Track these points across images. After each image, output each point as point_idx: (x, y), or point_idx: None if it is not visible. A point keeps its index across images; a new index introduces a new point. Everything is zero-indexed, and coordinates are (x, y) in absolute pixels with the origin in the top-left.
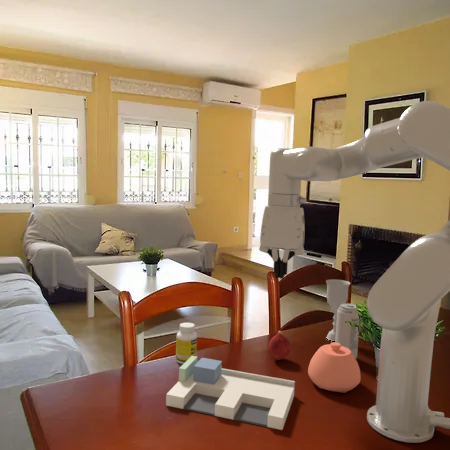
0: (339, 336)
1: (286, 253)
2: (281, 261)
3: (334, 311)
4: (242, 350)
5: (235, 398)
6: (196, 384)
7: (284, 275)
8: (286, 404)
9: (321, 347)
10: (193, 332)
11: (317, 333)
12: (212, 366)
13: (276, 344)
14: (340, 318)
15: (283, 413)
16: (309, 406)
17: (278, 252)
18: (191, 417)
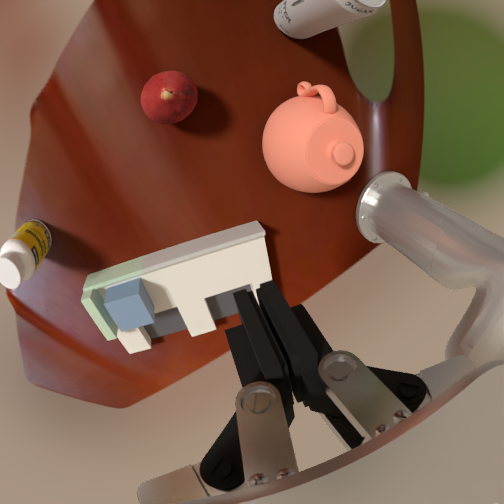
0: (308, 23)
1: (362, 438)
2: (297, 386)
3: None
4: (78, 113)
5: (204, 313)
6: None
7: (273, 283)
8: None
9: (309, 155)
10: (22, 260)
11: None
12: (143, 317)
13: (170, 120)
14: (332, 10)
15: None
16: (286, 233)
17: (286, 440)
18: (171, 341)
